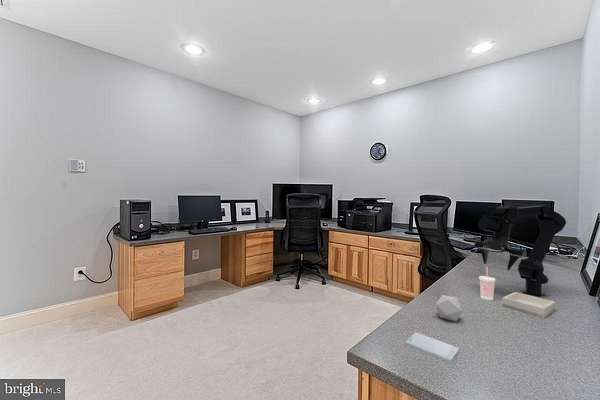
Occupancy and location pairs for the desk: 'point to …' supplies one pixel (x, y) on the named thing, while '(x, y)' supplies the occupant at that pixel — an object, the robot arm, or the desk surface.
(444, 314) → the die
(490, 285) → the beverage cup
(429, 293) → the desk surface
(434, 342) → the hard drive
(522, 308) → the tray
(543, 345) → the desk surface
